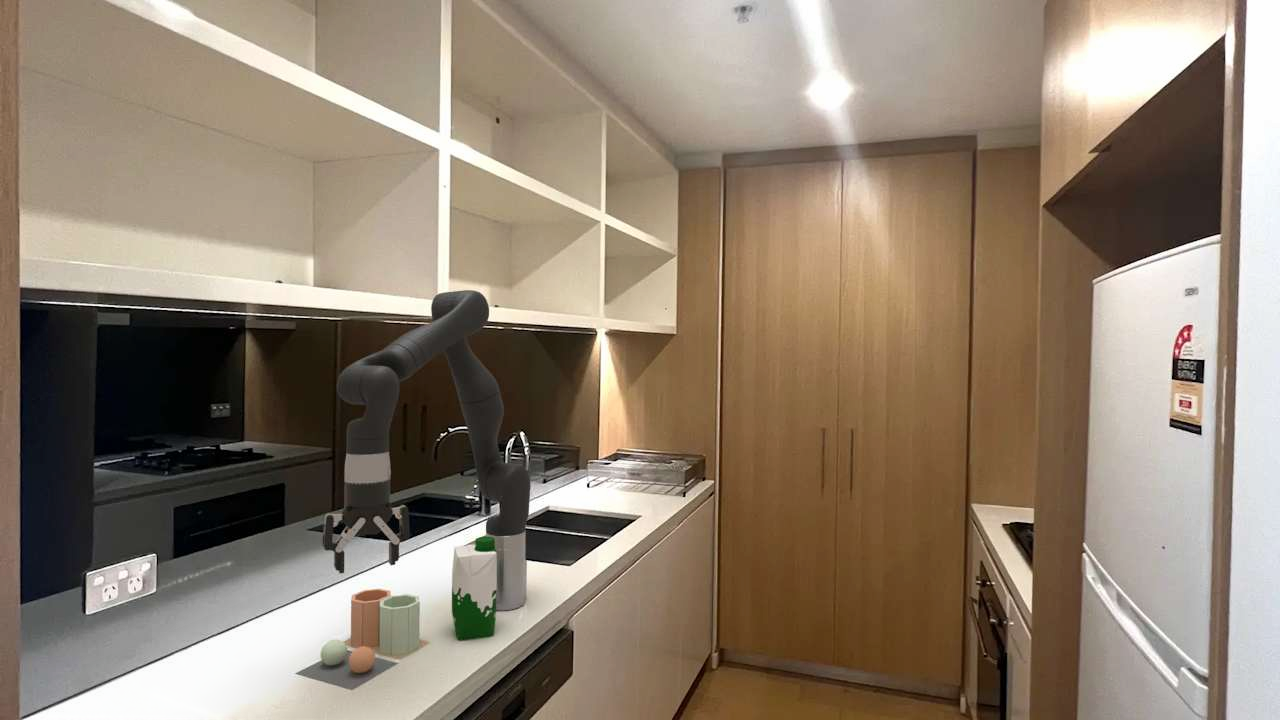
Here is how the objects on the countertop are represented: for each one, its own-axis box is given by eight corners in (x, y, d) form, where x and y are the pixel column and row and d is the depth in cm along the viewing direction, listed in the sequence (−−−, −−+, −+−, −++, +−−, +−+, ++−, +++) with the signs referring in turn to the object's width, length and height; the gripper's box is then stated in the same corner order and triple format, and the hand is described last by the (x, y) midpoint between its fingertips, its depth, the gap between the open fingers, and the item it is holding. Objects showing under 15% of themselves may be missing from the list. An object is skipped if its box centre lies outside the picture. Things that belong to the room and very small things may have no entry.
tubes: (370, 630, 141) (371, 585, 140) (430, 644, 134) (431, 597, 134) (338, 646, 133) (339, 599, 133) (400, 662, 126) (400, 612, 126)
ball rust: (362, 664, 124) (362, 640, 124) (380, 669, 122) (380, 644, 122) (342, 674, 120) (343, 650, 120) (361, 680, 118) (361, 655, 118)
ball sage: (334, 657, 127) (334, 633, 127) (352, 661, 125) (352, 638, 125) (314, 667, 123) (315, 643, 123) (332, 672, 121) (332, 647, 121)
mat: (343, 652, 131) (343, 649, 131) (398, 666, 125) (398, 663, 125) (294, 676, 120) (294, 673, 120) (352, 693, 115) (352, 689, 115)
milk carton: (498, 639, 137) (499, 543, 137) (453, 646, 134) (454, 547, 134) (492, 623, 145) (493, 532, 145) (449, 629, 142) (450, 536, 142)
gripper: (404, 470, 125) (403, 556, 125) (320, 477, 117) (320, 568, 117) (413, 477, 119) (413, 567, 119) (326, 485, 111) (325, 581, 111)
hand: (366, 568), depth 118 cm, fingers open, 8 cm apart
